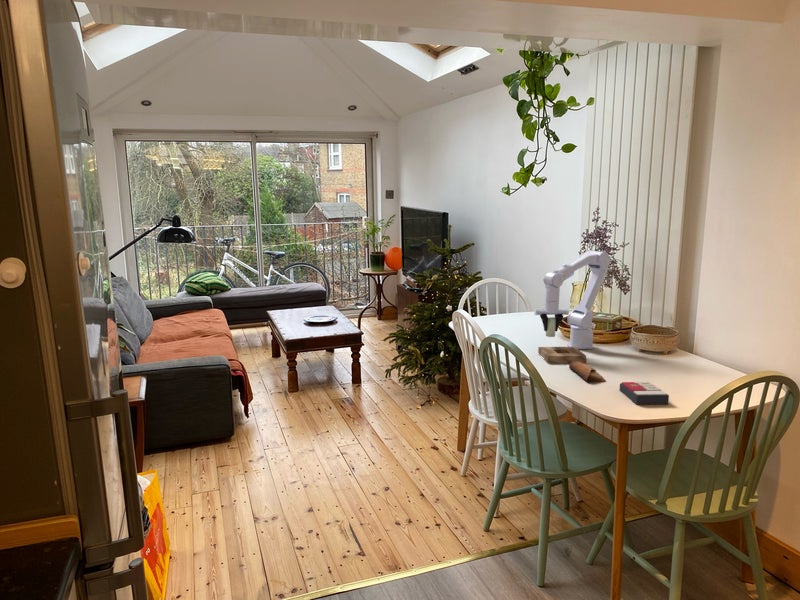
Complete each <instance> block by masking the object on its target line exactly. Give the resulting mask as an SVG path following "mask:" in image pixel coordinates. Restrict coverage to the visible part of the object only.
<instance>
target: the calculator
mask: <svg viewBox="0 0 800 600" xmlns="http://www.w3.org/2000/svg"><path fill="white" fill-rule="evenodd" d="M619 392H620V393H621V394H623V395H624V396H626V398H628V399H630V401H631V402H632V403H633V404H634V405H636V406H669V401H670V399H669V398H670V395H669V394H668V393H666V392H665V391H664V390H662V389H661V388H659V387H658V386H656V385H654V384H653V383H651V382H649V381H636V382H635V381H622V382H620V383H619Z"/></svg>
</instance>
